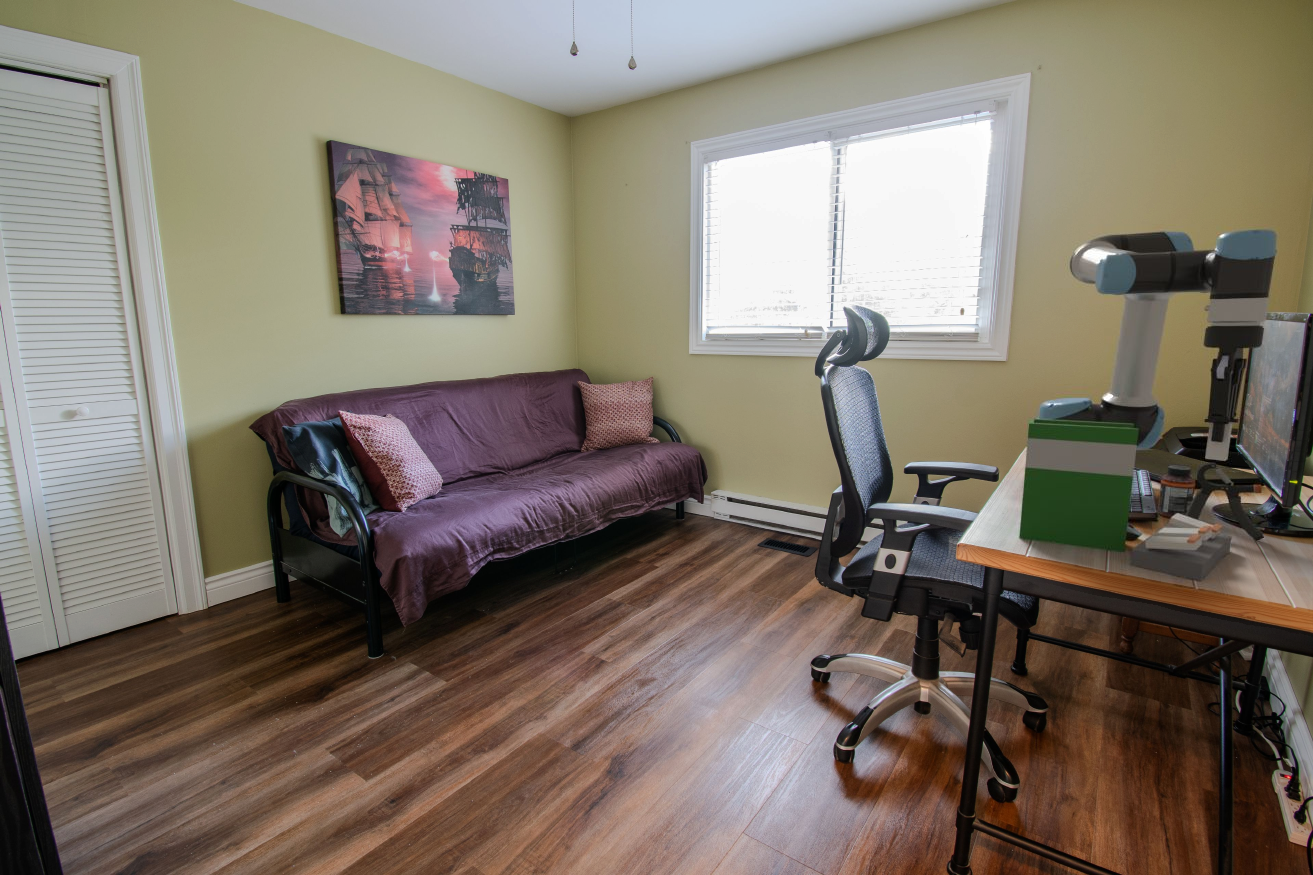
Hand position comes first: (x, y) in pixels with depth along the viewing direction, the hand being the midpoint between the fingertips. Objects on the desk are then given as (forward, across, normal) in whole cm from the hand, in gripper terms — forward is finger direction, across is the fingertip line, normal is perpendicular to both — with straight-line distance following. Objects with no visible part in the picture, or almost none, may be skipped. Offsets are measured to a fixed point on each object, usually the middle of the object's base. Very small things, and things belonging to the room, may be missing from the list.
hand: (1216, 458), depth 114 cm
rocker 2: (+15, -8, -3) cm, 17 cm away
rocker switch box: (+19, -3, -3) cm, 20 cm away
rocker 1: (+15, +8, -3) cm, 17 cm away
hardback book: (+20, +4, -20) cm, 29 cm away
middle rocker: (+15, 0, -3) cm, 15 cm away
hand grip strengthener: (+20, -21, -1) cm, 29 cm away
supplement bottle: (+20, -31, -11) cm, 38 cm away
